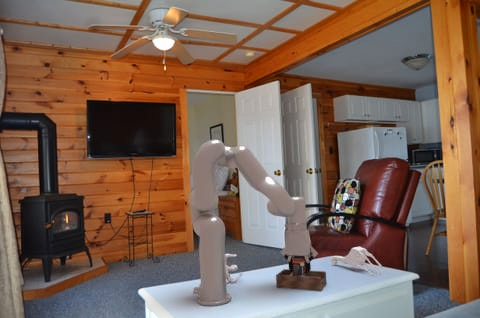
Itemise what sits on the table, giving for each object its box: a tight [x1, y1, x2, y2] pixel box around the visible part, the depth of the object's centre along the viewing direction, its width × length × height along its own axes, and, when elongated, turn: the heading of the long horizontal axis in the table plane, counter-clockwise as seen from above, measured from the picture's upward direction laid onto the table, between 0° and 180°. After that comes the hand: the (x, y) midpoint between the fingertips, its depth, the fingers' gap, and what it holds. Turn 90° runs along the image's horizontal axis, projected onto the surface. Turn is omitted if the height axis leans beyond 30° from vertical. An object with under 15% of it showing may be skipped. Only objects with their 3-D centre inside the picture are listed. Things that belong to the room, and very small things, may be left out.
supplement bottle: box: [292, 256, 308, 276], centre depth 150 cm, size 6×6×11 cm
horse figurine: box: [330, 246, 383, 277], centre depth 170 cm, size 5×16×25 cm
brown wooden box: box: [275, 268, 327, 292], centre depth 150 cm, size 18×10×5 cm, turn 65°
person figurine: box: [197, 253, 243, 288], centre depth 157 cm, size 13×13×18 cm
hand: (299, 271), depth 150 cm, fingers closed on supplement bottle, 6 cm apart
